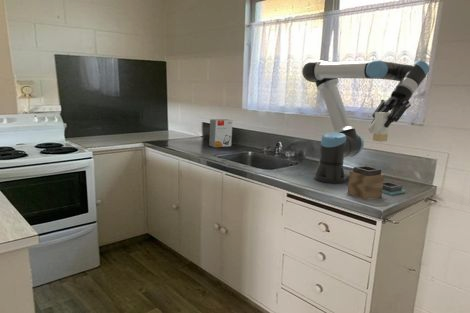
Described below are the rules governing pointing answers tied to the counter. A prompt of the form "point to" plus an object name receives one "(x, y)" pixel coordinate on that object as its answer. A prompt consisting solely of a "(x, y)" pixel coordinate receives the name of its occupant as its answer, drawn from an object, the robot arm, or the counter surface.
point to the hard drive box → (220, 132)
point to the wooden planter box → (366, 182)
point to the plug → (377, 122)
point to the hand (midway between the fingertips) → (374, 131)
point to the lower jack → (392, 188)
